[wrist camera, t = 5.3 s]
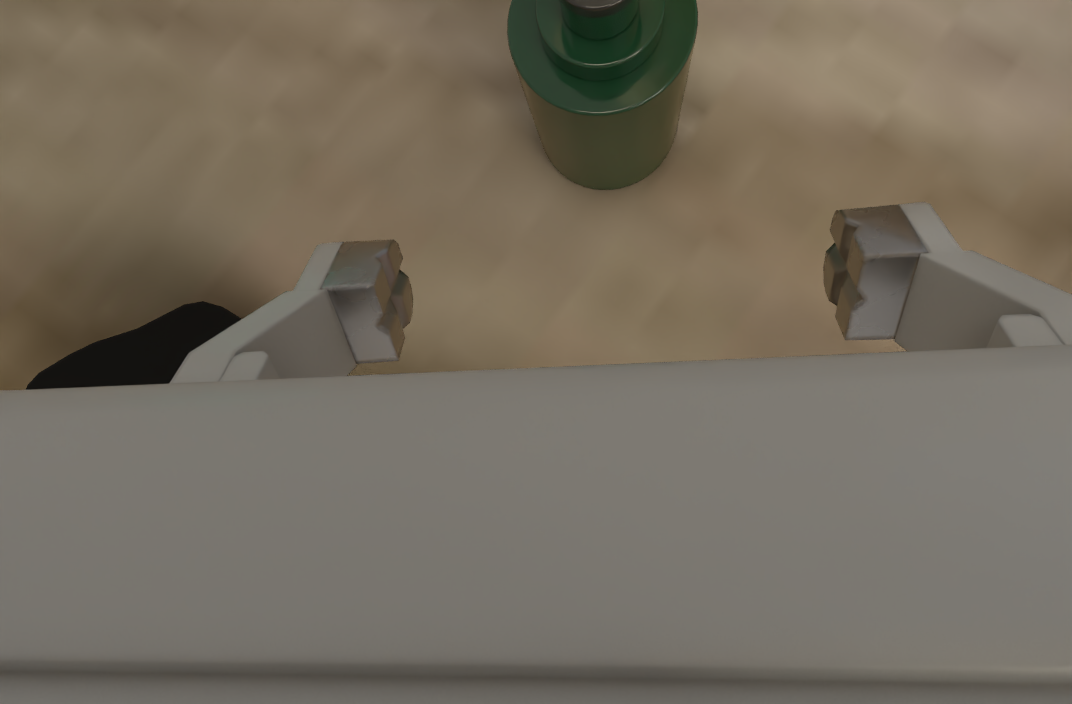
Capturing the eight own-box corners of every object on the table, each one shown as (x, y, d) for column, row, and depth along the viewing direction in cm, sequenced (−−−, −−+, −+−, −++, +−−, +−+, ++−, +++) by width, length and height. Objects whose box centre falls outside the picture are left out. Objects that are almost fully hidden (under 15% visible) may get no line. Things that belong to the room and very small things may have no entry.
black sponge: (85, 378, 25) (-6, 378, 22) (297, 305, 24) (240, 292, 21) (203, 830, 24) (128, 910, 20) (431, 771, 23) (396, 844, 20)
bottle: (515, 154, 24) (450, 17, 15) (578, 33, 24) (550, -179, 15) (637, 213, 23) (645, 106, 14) (701, 89, 23) (750, -97, 14)
